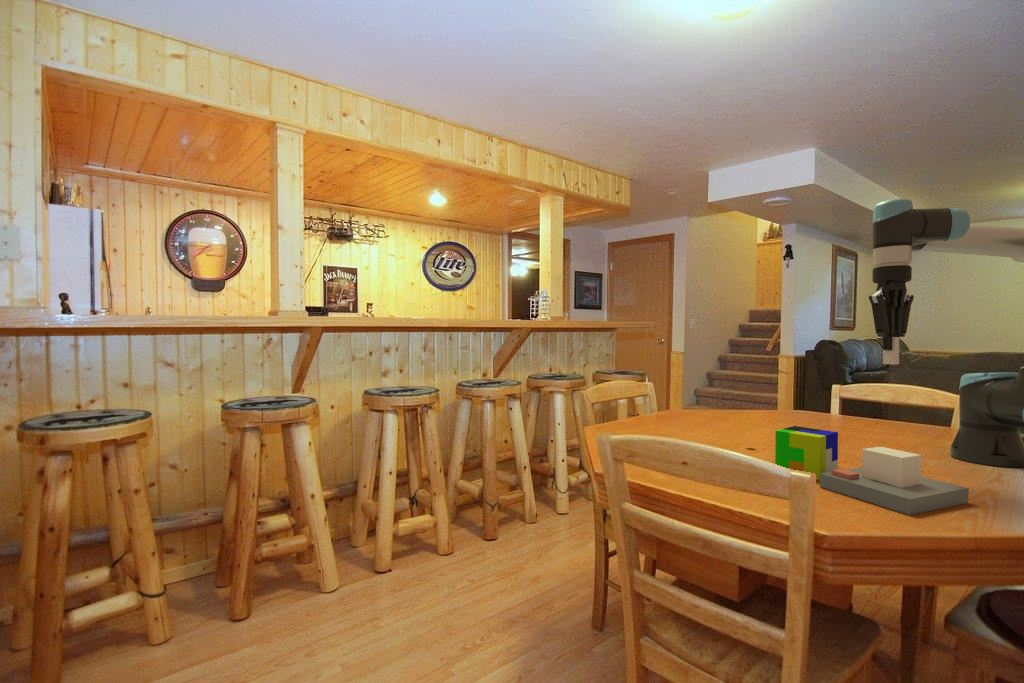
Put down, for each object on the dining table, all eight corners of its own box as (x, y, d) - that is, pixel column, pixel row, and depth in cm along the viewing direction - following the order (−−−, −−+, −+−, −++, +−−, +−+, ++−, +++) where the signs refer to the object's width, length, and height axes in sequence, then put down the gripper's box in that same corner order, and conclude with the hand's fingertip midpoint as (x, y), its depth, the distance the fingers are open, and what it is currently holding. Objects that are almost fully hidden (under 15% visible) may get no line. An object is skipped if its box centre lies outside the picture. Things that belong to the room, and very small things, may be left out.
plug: (880, 487, 110) (880, 446, 110) (920, 498, 103) (921, 455, 102) (861, 490, 108) (861, 449, 108) (901, 502, 100) (902, 457, 100)
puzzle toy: (837, 473, 121) (838, 432, 121) (819, 480, 116) (819, 437, 115) (794, 464, 129) (794, 425, 129) (775, 471, 124) (775, 430, 123)
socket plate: (875, 478, 117) (875, 461, 117) (968, 502, 100) (968, 483, 100) (820, 487, 110) (820, 469, 110) (909, 515, 94) (909, 493, 94)
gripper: (893, 268, 126) (892, 362, 127) (857, 266, 121) (856, 364, 122) (926, 265, 119) (925, 364, 120) (890, 262, 114) (889, 365, 115)
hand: (890, 364), depth 121 cm, fingers closed
